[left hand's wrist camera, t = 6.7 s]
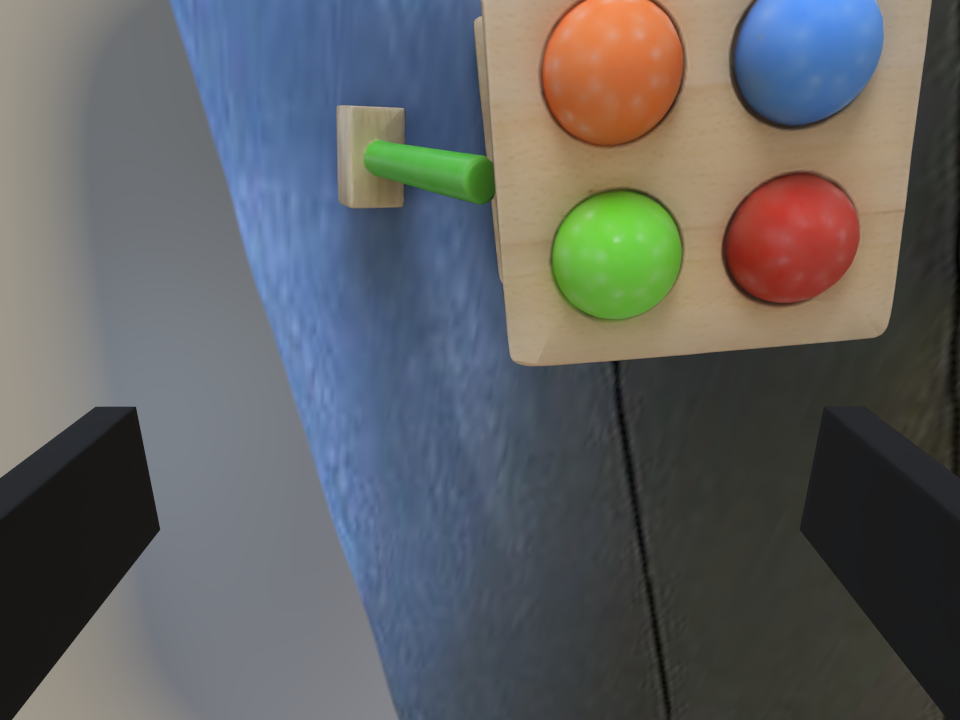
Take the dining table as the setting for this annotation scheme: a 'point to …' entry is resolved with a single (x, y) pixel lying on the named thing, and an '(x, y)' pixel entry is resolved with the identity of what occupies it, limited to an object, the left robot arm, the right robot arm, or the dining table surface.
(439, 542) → the dining table surface
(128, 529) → the left robot arm
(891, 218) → the pounding bench toy
